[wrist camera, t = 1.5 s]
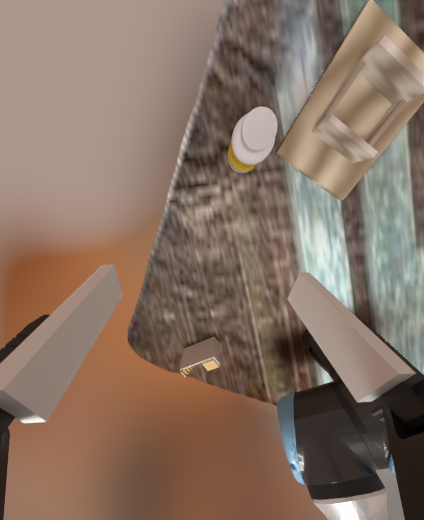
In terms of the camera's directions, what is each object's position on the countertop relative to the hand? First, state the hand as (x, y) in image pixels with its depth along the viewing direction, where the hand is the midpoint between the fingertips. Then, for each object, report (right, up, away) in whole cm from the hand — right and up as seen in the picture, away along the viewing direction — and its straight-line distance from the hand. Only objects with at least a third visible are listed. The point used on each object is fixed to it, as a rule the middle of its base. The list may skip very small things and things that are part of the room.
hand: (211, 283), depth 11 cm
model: (-3, -24, +36) cm, 43 cm away
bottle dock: (+24, +26, +15) cm, 38 cm away
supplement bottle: (+6, +21, +17) cm, 28 cm away
